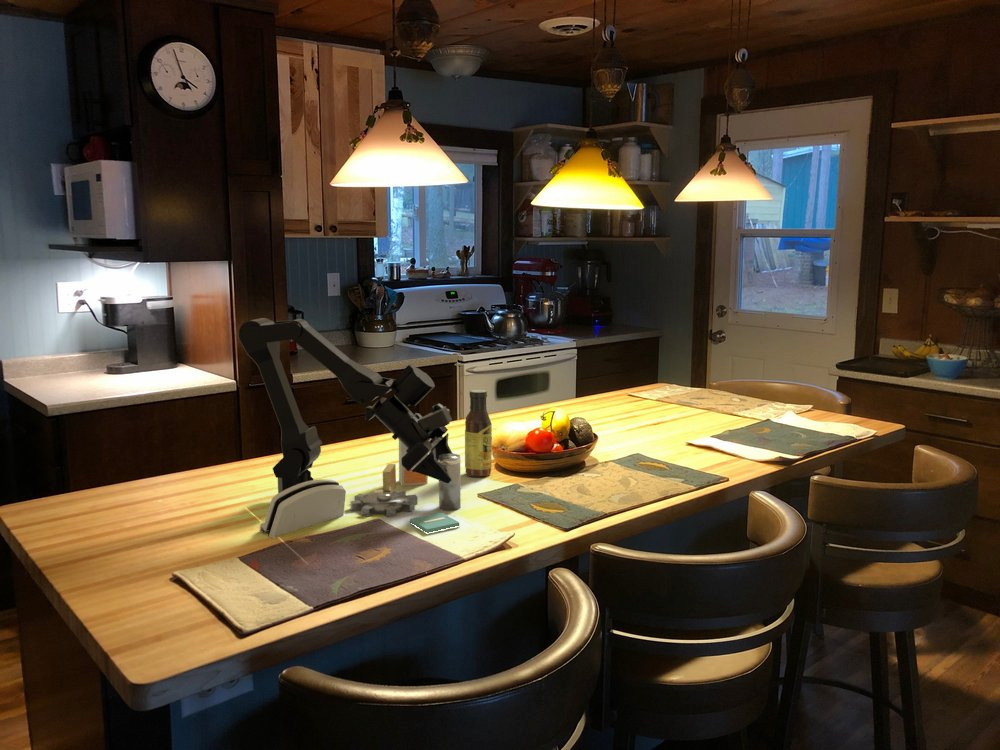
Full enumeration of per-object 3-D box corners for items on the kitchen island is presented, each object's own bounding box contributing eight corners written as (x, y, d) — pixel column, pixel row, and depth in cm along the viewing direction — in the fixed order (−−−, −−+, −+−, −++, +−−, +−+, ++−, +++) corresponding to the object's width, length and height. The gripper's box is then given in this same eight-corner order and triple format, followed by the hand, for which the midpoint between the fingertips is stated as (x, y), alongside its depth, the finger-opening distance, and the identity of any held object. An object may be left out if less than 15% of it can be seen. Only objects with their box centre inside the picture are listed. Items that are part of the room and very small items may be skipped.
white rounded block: (328, 510, 172) (337, 468, 168) (342, 522, 169) (352, 480, 165) (257, 531, 160) (265, 487, 156) (271, 545, 157) (279, 500, 153)
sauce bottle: (488, 478, 194) (488, 394, 191) (462, 477, 195) (461, 393, 192) (494, 471, 200) (494, 388, 197) (468, 469, 202) (468, 388, 198)
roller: (445, 513, 170) (445, 460, 168) (435, 507, 174) (434, 455, 172) (464, 509, 173) (464, 457, 171) (453, 503, 176) (453, 452, 174)
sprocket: (410, 517, 167) (410, 485, 166) (344, 516, 168) (343, 484, 167) (422, 493, 182) (422, 464, 181) (362, 492, 183) (361, 463, 182)
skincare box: (401, 486, 188) (400, 434, 186) (398, 481, 192) (397, 430, 190) (428, 484, 190) (427, 432, 188) (425, 479, 194) (424, 428, 192)
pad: (427, 535, 158) (426, 528, 157) (409, 524, 163) (409, 518, 163) (459, 528, 161) (459, 521, 161) (441, 518, 167) (441, 511, 167)
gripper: (416, 403, 161) (473, 461, 161) (437, 386, 179) (488, 438, 179) (377, 442, 163) (434, 499, 163) (402, 421, 181) (453, 472, 182)
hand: (454, 475), depth 172 cm, fingers open, 9 cm apart
